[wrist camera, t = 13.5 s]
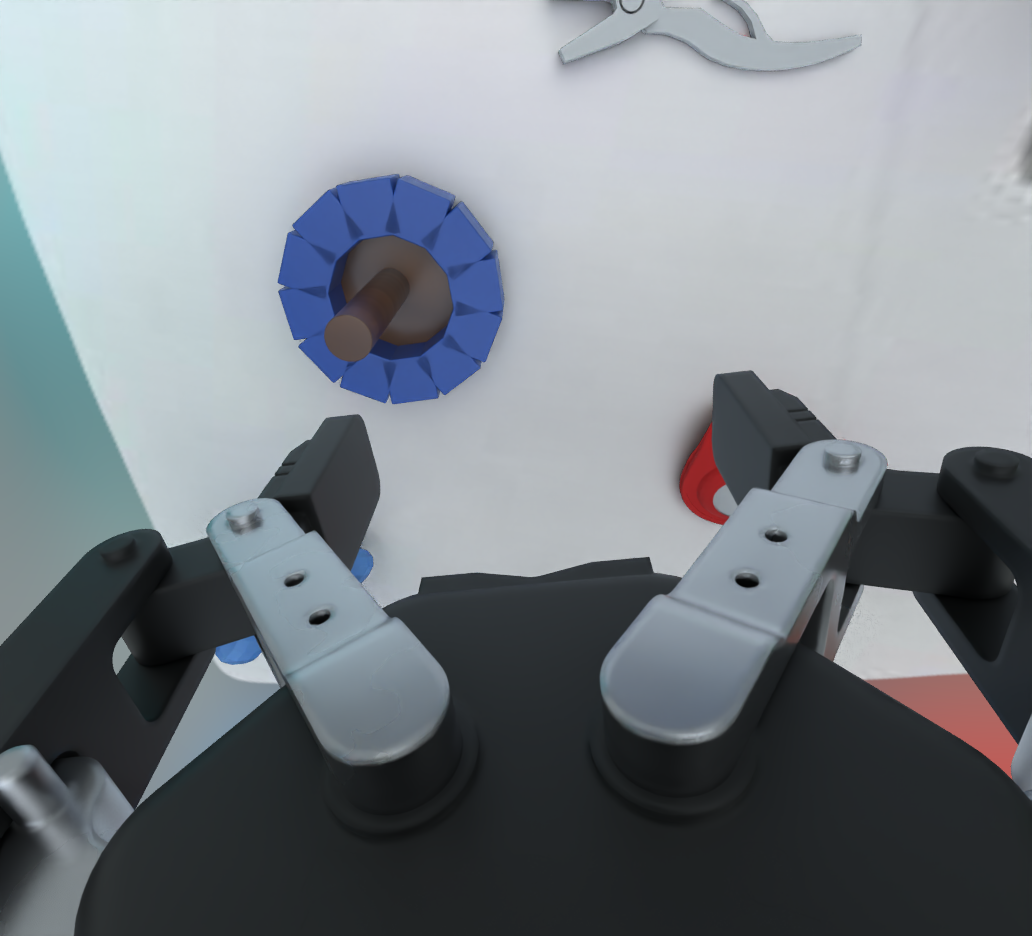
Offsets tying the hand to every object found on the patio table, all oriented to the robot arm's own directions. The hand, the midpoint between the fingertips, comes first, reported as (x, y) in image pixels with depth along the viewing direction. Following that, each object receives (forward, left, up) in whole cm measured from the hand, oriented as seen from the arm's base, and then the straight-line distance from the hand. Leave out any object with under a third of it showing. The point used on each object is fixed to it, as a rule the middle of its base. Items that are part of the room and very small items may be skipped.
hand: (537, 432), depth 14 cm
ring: (+5, -6, -25) cm, 26 cm away
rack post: (+5, -7, -26) cm, 27 cm away
